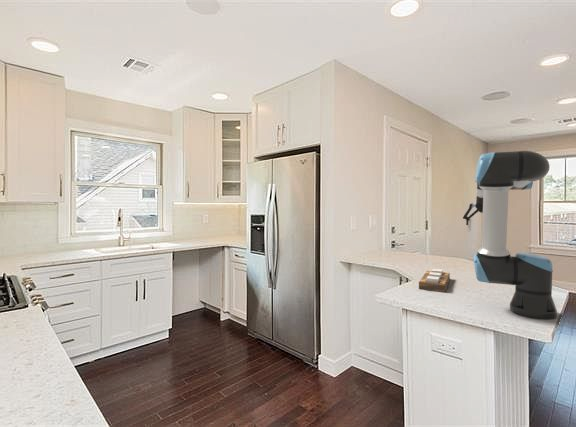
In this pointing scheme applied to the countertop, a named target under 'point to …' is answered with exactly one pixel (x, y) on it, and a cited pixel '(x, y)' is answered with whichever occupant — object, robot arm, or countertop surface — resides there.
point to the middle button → (435, 274)
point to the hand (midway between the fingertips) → (482, 232)
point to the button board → (434, 286)
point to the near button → (433, 279)
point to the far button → (437, 271)
